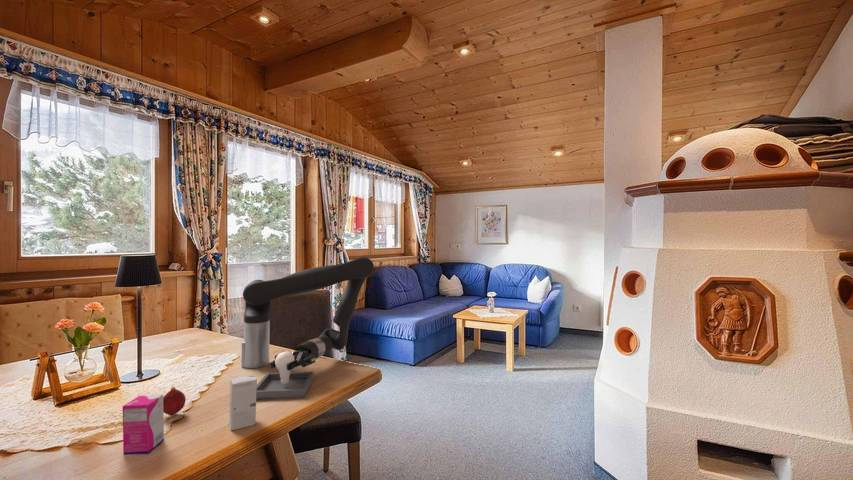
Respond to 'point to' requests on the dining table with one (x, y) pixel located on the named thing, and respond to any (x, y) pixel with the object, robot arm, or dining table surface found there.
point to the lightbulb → (284, 365)
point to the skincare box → (242, 402)
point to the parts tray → (284, 386)
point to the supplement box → (143, 424)
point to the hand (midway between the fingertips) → (280, 366)
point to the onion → (173, 402)
